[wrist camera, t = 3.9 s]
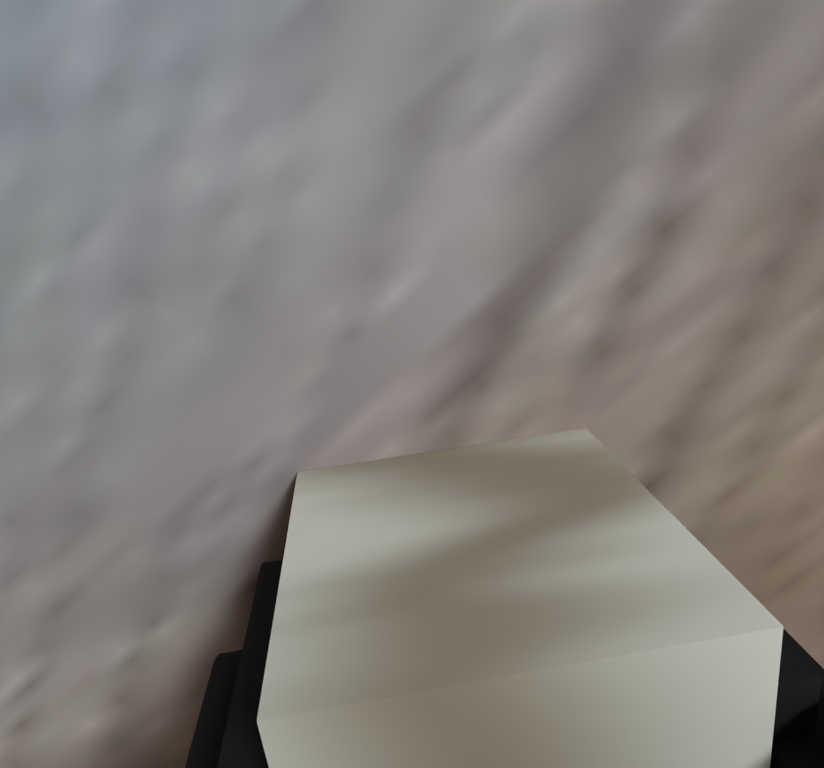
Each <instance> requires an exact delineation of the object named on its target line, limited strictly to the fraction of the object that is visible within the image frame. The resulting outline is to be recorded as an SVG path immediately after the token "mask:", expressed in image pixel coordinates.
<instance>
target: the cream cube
mask: <svg viewBox="0 0 824 768" xmlns="http://www.w3.org/2000/svg"><path fill="white" fill-rule="evenodd" d="M783 627H784V626H783V625H782V624H781V623H780V622H779V621H778V620H777V619H776V618H775V617H774V616H773V615H772V614H771V613H770V612H769V611H768V610H767V609H766V608H765V607H764V606H763V605H762V604H761V603H760V602H759V601H758V600H757V599H756V598H755V597H754V596H753V595H752V594H751V593H750V592H749V591H748V590H747V589H746V588H745V587H744V586H743V585H742V584H741V583H740V582H739V581H738V580H737V579H736V578H735V577H734V576H733V575H732V574H731V573H730V572H729V571H728V570H727V569H726V568H725V567H724V566H723V565H722V564H721V563H720V562H719V561H718V560H717V559H716V558H715V557H714V556H713V555H712V554H711V553H710V552H709V551H708V550H707V549H706V548H705V547H704V546H703V545H702V544H701V543H700V542H699V541H698V540H697V539H696V538H695V537H694V536H693V535H692V534H691V533H690V532H689V531H688V530H687V529H686V528H685V527H684V526H683V525H682V524H681V523H680V522H679V521H678V520H677V519H676V518H675V517H674V516H673V515H672V514H671V513H670V512H669V511H668V510H667V509H666V508H665V507H664V506H663V505H662V504H661V503H660V502H659V501H658V500H657V499H656V498H655V497H654V496H653V495H652V494H651V493H650V492H649V491H648V490H647V489H646V488H645V487H644V486H643V485H642V484H641V483H640V482H639V481H638V480H637V479H636V478H635V477H634V476H633V475H632V474H631V473H630V472H629V471H628V470H627V469H626V468H625V467H624V466H623V465H622V464H621V463H620V462H619V461H618V460H617V459H616V458H615V457H614V456H613V455H612V454H611V453H610V452H609V451H608V450H607V449H606V448H605V447H604V446H603V445H602V444H601V443H600V442H599V441H598V440H597V439H596V438H595V437H594V436H593V435H592V434H591V433H590V432H589V431H588V430H587V429H586V428H582V429H576V430H569V431H563V432H556V433H550V434H544V435H537V436H531V437H524V438H518V439H511V440H505V441H498V442H492V443H486V444H479V445H473V446H466V447H460V448H453V449H447V450H440V451H434V452H427V453H421V454H415V455H408V456H402V457H395V458H389V459H382V460H376V461H369V462H363V463H357V464H350V465H344V466H337V467H331V468H324V469H318V470H311V471H305V472H299V473H297V478H296V484H295V490H294V496H293V502H292V508H291V514H290V520H289V526H288V532H287V539H286V545H285V551H284V557H283V563H282V569H281V575H280V581H279V587H278V594H277V600H276V606H275V612H274V618H273V624H272V630H271V636H270V642H269V648H268V655H267V661H266V667H265V673H264V679H263V685H262V691H261V697H260V703H259V709H258V716H257V725H258V729H259V732H260V736H261V740H262V744H263V748H264V751H265V755H266V759H267V763H268V766H269V768H770V762H771V752H772V742H773V731H774V721H775V710H776V700H777V690H778V679H779V669H780V658H781V648H782V638H783Z"/></svg>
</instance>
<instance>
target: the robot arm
mask: <svg viewBox="0 0 824 768" xmlns="http://www.w3.org/2000/svg"><path fill="white" fill-rule="evenodd" d="M282 563H283V560H277V561H271V562H265V563H262V565H261V568H260V573H259V578H258V582H257V587H256V591H255V596H254V600H253V605H252V610H251V614H250V619H249V623H248V628H247V632H246V637H245V642H244V646H243V650H240V651H234V652H228V653H222V654H219V655H218V656H217V657H216V659H215V662H214V664H213V667H212V671H211V675H210V678H209V682H208V685H207V689H206V693H205V696H204V700H203V704H202V707H201V711H200V715H199V718H198V722H197V726H196V729H195V733H194V737H193V740H192V744H191V748H190V751H189V755H188V759H187V762H186V766H185V768H269V766H268V763H267V759H266V755H265V751H264V748H263V744H262V740H261V736H260V732H259V729H258V725H257V716H258V709H259V703H260V697H261V691H262V685H263V679H264V673H265V667H266V661H267V655H268V648H269V642H270V636H271V630H272V624H273V618H274V612H275V606H276V600H277V594H278V587H279V581H280V575H281V569H282ZM770 768H824V669H823V668H822V667H821V666H820V665H819V664H818V663H817V662H816V661H815V660H814V659H813V658H812V657H811V656H810V655H809V654H808V653H807V652H806V651H805V650H804V649H803V648H802V647H801V646H800V645H799V644H798V643H797V642H796V641H795V640H794V639H793V638H792V637H791V636H790V635H789V634H788V633H787V632H786V631H785V630H784V629H783V638H782V648H781V658H780V669H779V679H778V690H777V700H776V710H775V721H774V731H773V742H772V752H771V762H770Z"/></svg>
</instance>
